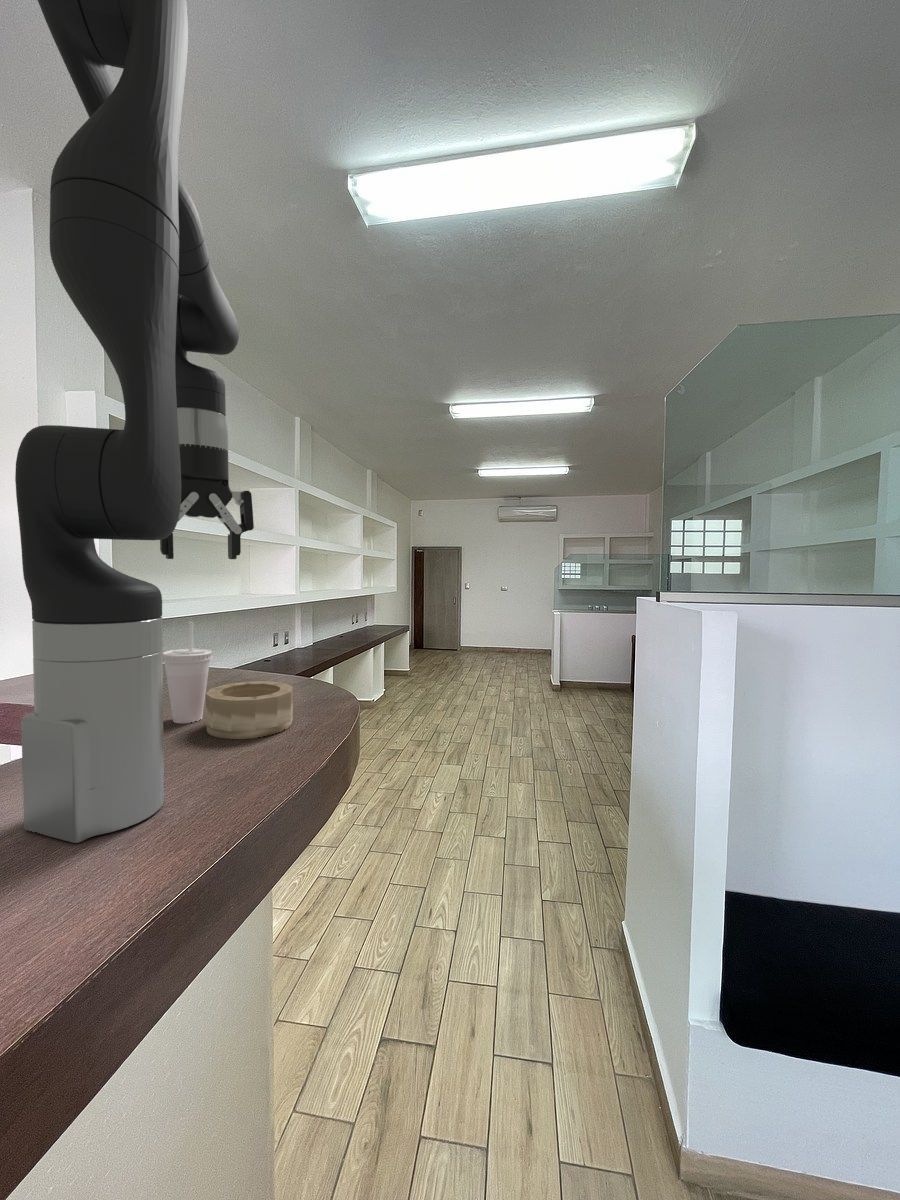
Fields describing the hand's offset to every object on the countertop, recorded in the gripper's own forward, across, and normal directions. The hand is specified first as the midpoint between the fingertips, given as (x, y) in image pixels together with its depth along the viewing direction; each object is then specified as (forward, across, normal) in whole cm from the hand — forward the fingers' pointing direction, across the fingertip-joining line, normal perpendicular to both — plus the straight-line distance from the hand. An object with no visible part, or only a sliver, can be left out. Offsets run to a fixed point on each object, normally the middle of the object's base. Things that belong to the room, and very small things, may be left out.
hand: (202, 558), depth 75 cm
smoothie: (+23, -3, -5) cm, 23 cm away
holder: (+22, +3, -13) cm, 26 cm away
